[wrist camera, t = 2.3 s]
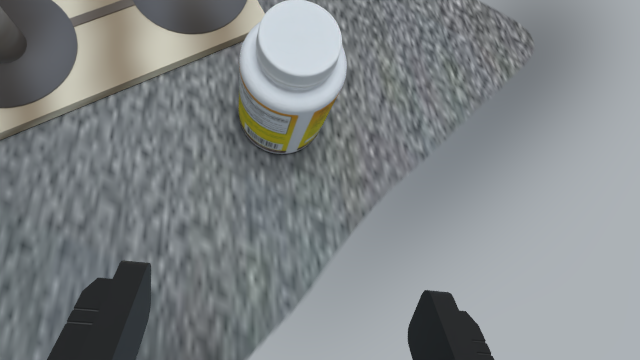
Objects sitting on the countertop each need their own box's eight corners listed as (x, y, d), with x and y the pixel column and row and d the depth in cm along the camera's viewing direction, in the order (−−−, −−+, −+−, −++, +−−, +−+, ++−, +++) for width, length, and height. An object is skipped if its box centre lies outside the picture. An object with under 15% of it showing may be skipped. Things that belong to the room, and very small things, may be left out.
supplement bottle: (313, 76, 32) (350, -18, 22) (326, 152, 31) (369, 88, 21) (233, 81, 31) (233, -16, 21) (242, 160, 30) (247, 96, 20)
